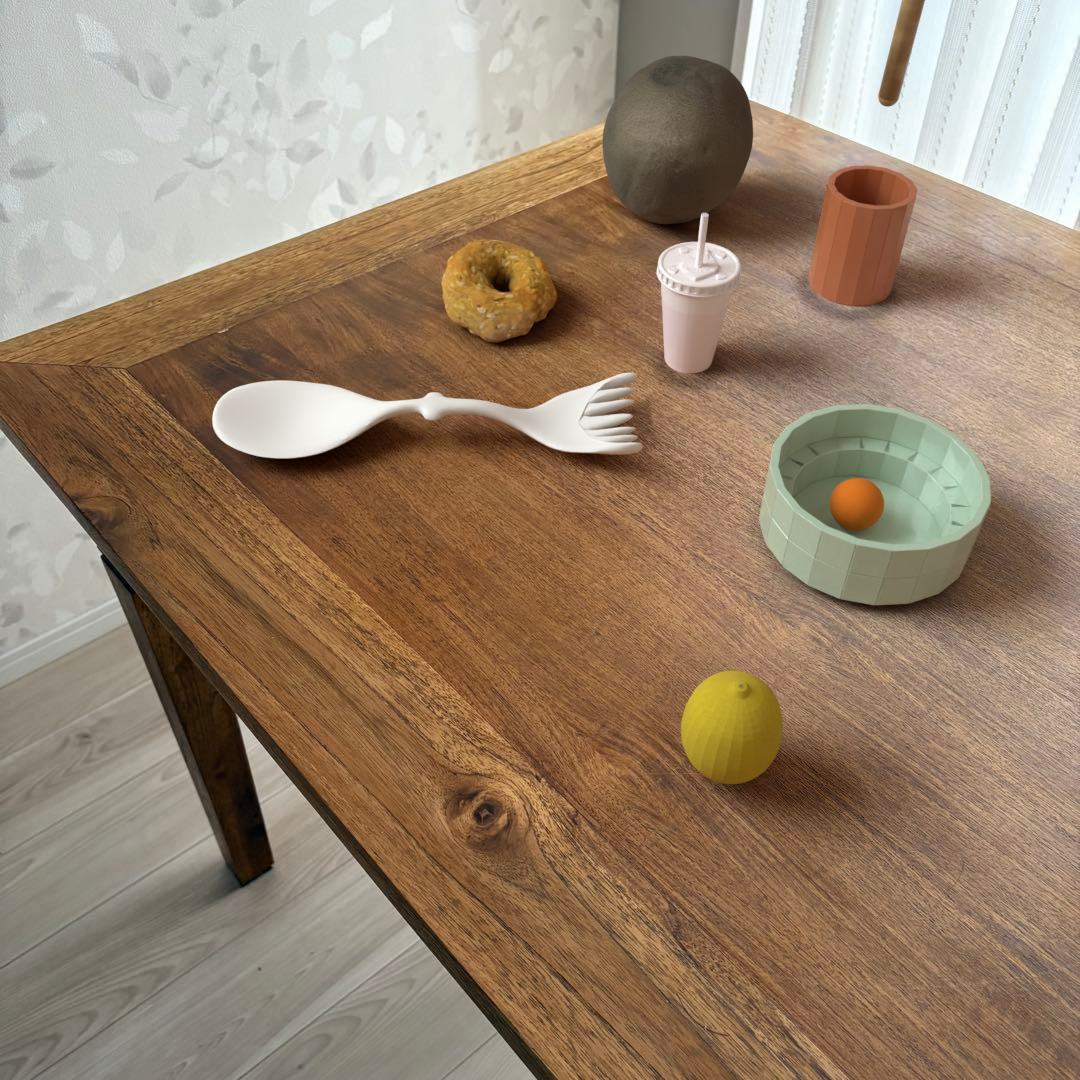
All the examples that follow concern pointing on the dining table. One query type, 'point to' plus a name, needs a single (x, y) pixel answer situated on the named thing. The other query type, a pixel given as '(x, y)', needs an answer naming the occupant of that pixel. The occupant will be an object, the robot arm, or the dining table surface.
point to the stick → (900, 51)
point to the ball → (856, 504)
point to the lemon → (732, 727)
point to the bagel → (497, 289)
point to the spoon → (341, 415)
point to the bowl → (909, 503)
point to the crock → (861, 234)
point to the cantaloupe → (677, 139)
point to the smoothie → (695, 299)
